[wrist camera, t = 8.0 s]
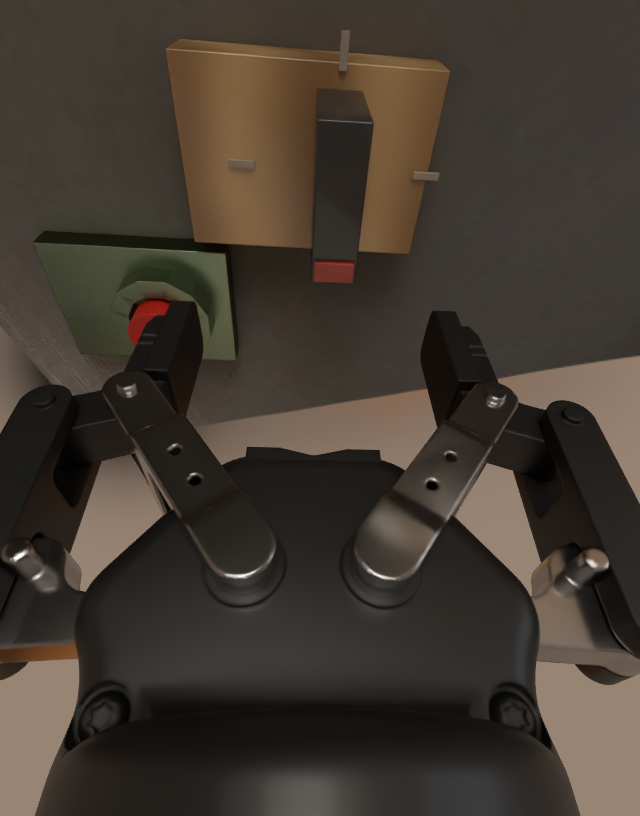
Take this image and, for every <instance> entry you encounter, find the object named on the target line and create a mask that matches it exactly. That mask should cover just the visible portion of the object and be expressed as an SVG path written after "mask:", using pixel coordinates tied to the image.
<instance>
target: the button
mask: <svg viewBox="0 0 640 816" xmlns="http://www.w3.org/2000/svg"><path fill="white" fill-rule="evenodd" d="M169 305H170V302H167V301H164V300H148V301H145V302H143V303H142V304H140V305H139V306H138V307H137V309H136V311H135V313H134V315H133V317H132V319H131V321H130V323H129V326H128V335H129V338H130V340H131V342H132V343H133V344H134V345H135V346H136V345H137V344H138V343H137V342H138V340H139V338H140V336H141V333H142V331H143V329H144V327H145V325H146V323H147V322H149V321H150V320H151V319H152V318H153V317H154V316H156V315H165V314H166V312H167V310H168V307H169Z"/></svg>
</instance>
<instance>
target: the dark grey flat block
mask: <svg viewBox="0 0 640 816" xmlns="http://www.w3.org/2000/svg"><path fill="white" fill-rule="evenodd" d="M373 129H374V122H373V119H372V116H371V113H370V110H369V108H368V105H367V102H366V99H365V96H364V93H363V91H354V90H338V89H322V88H318V89H317V100H316V125H315V151H314V177H313V202H312V228H311V282H318V283H342V284H354V283H355V275H356V267H357V259H358V250H359V242H360V234H361V226H362V218H363V210H364V202H365V194H366V185H367V177H368V169H369V161H370V153H371V145H372V137H373Z"/></svg>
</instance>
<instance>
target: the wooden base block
mask: <svg viewBox="0 0 640 816" xmlns="http://www.w3.org/2000/svg"><path fill="white" fill-rule="evenodd" d="M349 38H350V31H345V30H342V33H341V46H340V52H334V51H322V50H310V49H297V48H285V47H273V46H260V45H248V44H236V43H223V42H211V41H199V40H187V39H179V40H178V41H176V42H175V43H173V44H172V45H170V46H169V47H167V48H166V49H165V50H166V57H167V64H168V70H169V77H170V83H171V90H172V97H173V103H174V110H175V116H176V123H177V130H178V136H179V143H180V149H181V156H182V163H183V169H184V176H185V182H186V189H187V196H188V202H189V209H190V215H191V222H192V229H193V235H194V241H195V242H204V243H221V244H239V245H256V246H274V247H291V248H309V249H311V228H312V202H313V177H314V151H315V125H316V100H317V89H318V88H322V89H338V90H354V91H363V93H364V96H365V99H366V102H367V105H368V108H369V110H370V113H371V116H372V119H373V122H374V129H373V137H372V145H371V153H370V161H369V169H368V177H367V185H366V194H365V202H364V210H363V218H362V226H361V234H360V242H359V250H358V251H361V252H379V253H396V254H409V253H410V248H411V244H412V239H413V235H414V230H415V226H416V222H417V217H418V213H419V208H420V204H421V199H422V195H423V191H424V186H425V182H426V180H430V181H438V178H439V173H432V172H428V168H429V164H430V160H431V155H432V151H433V146H434V142H435V137H436V133H437V129H438V124H439V120H440V115H441V111H442V106H443V102H444V98H445V93H446V89H447V84H448V80H449V76H450V71H449V70H448V69H447V68H446V67H445V66H444V65H442V64H441V63H440V62H439V61H438V60H433V59H420V58H408V57H396V56H383V55H371V54H359V53H348V49H349Z"/></svg>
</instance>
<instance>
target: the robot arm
mask: <svg viewBox="0 0 640 816" xmlns="http://www.w3.org/2000/svg"><path fill="white" fill-rule="evenodd" d="M137 343H138V344H137V345H136V347H135V349H134V351H133V353H132V355H131V357H130V360H129V362H128V364H127V366H126V368H125V371H124V372H121V373H118V374H116V375H114V376H112V377H111V378H109V379H108V380H107V381H106V382H105V384H104V385H103V388H102V390H100V391H96V392H91V393H86V394H81V395H76V396H72V394H71V392H70V390H69V389H68V388H66V387H64V386H61V385H46V386H42V387H38V388H36V389H34V390H32V391H30V392H28V393H27V394H25V395H24V396H23V397H22V398H21V399H20V401H19V402H18V404H17V406H16V407H15V409H14V411H13V412H12V414H11V416H10V418H9V419H8V421H7V423H6V425H5V426H4V428H3V430H2V432H1V434H0V680H3V679H6V678H8V677H10V676H12V675H14V674H15V673H17V672H19V671H20V670H21V669H22V668H23V667H25V666H26V664H27V663H28V662H29V661H44V660H62V659H78V660H79V691H78V700H77V704H76V708H75V711H74V715H73V718H72V720H71V723H70V725H69V728H68V730H67V732H66V735H65V737H64V739H63V742H62V744H61V746H60V748H59V750H58V753H57V755H56V757H55V759H54V762H53V764H52V767H51V769H50V772H49V775H48V777H47V780H46V783H45V786H44V789H43V792H42V795H41V798H40V801H39V804H38V808H37V811H36V814H35V816H580V813H579V810H578V807H577V803H576V800H575V796H574V793H573V790H572V787H571V784H570V781H569V778H568V775H567V772H566V770H565V768H564V766H563V763H562V761H561V759H560V757H559V755H558V753H557V751H556V749H555V746H554V745H553V742H552V740H551V738H550V736H549V734H548V731H547V729H546V727H545V725H544V722H543V720H542V717H541V714H540V711H539V708H538V703H537V697H536V686H535V669H536V661H541V662H554V663H568V664H575V665H576V666H577V667H578V669H579V670H580V671H581V672H582V673H583V674H584V675H586V676H587V677H588V678H590V679H591V680H593V681H595V682H597V683H600V684H604V685H613V684H616V683H619V682H621V681H623V680H626V679H628V678H631V677H633V676H636V675H638V674H640V504H639V502H638V500H637V498H636V496H635V494H634V492H633V490H632V488H631V487H630V485H629V483H628V481H627V479H626V477H625V475H624V473H623V471H622V469H621V467H620V465H619V463H618V461H617V459H616V458H615V456H614V454H613V452H612V450H611V448H610V446H609V444H608V442H607V440H606V438H605V437H604V434H603V432H602V431H601V429H600V427H599V425H598V423H597V421H596V419H595V417H594V416H593V415H592V414H591V413H590V412H589V411H588V410H587V409H586V408H584V407H582V406H581V405H579V404H576V403H573V402H570V401H564V400H561V401H555V402H552V403H551V404H550V405H549V406H548V407H547V409H546V410H543V409H539V408H535V407H531V406H528V405H524V404H521V403H519V402H518V398H517V396H516V395H515V393H514V392H513V391H512V390H511V389H509V388H508V387H506V386H504V385H502V384H500V383H498V380H497V378H496V376H495V373H494V371H493V369H492V366H491V364H490V361H489V359H488V357H486V355H487V354H486V352H485V350H484V348H483V345H482V343H481V340H480V338H479V336H478V335H477V334H476V333H475V332H474V331H473V330H472V329H471V328H470V327H464V326H461V324H460V321H459V319H458V316H457V314H456V312H454V311H432V313H431V315H430V318H429V322H428V325H427V329H426V332H425V336H424V340H423V343H422V347H421V366H422V370H423V374H424V377H425V381H426V385H427V389H428V393H429V397H430V401H431V405H432V409H433V413H434V417H435V421H436V425H437V430H436V431H435V432H434V434H433V435H432V436H431V438H430V439H429V440H428V442H427V443H426V444H425V445H424V447H423V448H422V449H421V451H420V452H419V453H418V455H417V456H416V457H415V459H414V460H413V461H412V463H411V464H410V465H409V467H408V468H407V469H406V471H405V470H403V469H402V468H400V467H398V466H396V465H394V464H392V463H388V462H386V461H382V460H381V458H380V450H351V449H350V450H349V449H347V450H342V451H337V452H331V453H326V454H321V455H308V454H304V453H300V452H296V451H291V450H287V449H282V448H270V447H269V448H267V447H247V451H246V457H243V458H239V459H235V460H232V461H230V462H227V463H225V464H223V465H221V464H220V463H219V461H218V460H217V458H216V457H215V456H214V454H213V453H212V452H211V450H210V449H209V448H208V446H207V445H206V443H205V442H204V441H203V439H202V438H201V437H200V435H199V434H198V433H197V431H196V430H195V429H194V427H193V426H192V425H191V423H190V422H189V420H188V419H187V418H186V413H187V410H188V406H189V403H190V399H191V396H192V392H193V388H194V385H195V381H196V378H197V374H198V371H199V367H200V363H201V360H202V356H203V336H202V331H201V325H200V320H199V315H198V309H197V305H196V303H195V301H173V300H172V301H171V303H170V305H169V307H168V310H167V312H166V314H165V315H156V316H154V317H153V318H152V319H151V320H150V321H149V322H147V323H146V325H145V327H144V329H143V331H142V333H141V336H140V338H139V340H138V342H137ZM129 454H130V456H131V458H132V460H133V461H134V463H135V465H136V467H137V468H138V470H139V472H140V473H141V475H142V477H143V479H144V480H145V482H146V484H147V485H148V487H149V489H150V491H151V492H152V494H153V496H154V498H155V500H156V502H157V504H158V506H159V508H160V510H161V512H162V514H163V516H162V517H161V518H160V519H159V520H158V521H157V522H155V524H153V526H151V527H150V528H149V529H148V530H147V531H146V532H144V533H143V534H142V535H141V536H140V537H139V538H138V539H137V540H136V541H135V542H133V543H132V544H131V545H130V546H129V547H128V548H127V549H126V550H125V551H123V552H122V553H121V554H120V555H119V556H118V557H117V558H116V559H115V560H113V561H112V562H111V563H110V564H109V565H108V566H107V567H106V568H105V569H104V570H103V571H102V572H101V573H100V574H99V575H98V576H97V577H96V578H95V579H94V580H93V582H92V583H91V584H90V586H89V587H88V589H87V591H86V592H83V591H80V582H81V569H80V567H79V565H78V564H77V562H76V561H75V560H74V559H73V558H72V557H71V555H70V552H71V549H72V546H73V543H74V540H75V537H76V534H77V532H78V528H79V526H80V523H81V520H82V517H83V514H84V511H85V508H86V505H87V502H88V499H89V496H90V494H91V491H92V488H93V485H94V482H95V479H96V476H97V473H98V470H99V467H100V465H101V462H102V461H103V460H107V459H112V458H116V457H120V456H125V455H129ZM487 463H489V464H493V465H496V466H499V467H503V468H506V469H509V470H513V473H514V476H515V479H516V482H517V486H518V489H519V492H520V495H521V498H522V502H523V505H524V509H525V512H526V515H527V518H528V522H529V525H530V528H531V531H532V534H533V538H534V541H535V544H536V548H537V551H538V554H539V557H540V561H541V564H540V565H539V566H538V567H537V568H536V569H535V570H534V572H533V574H532V579H531V584H532V597H530V595H529V593H528V591H527V590H526V588H525V587H524V585H523V584H522V583H521V582H520V580H519V579H518V578H517V577H516V576H515V575H514V574H513V573H512V572H511V571H510V570H509V569H508V568H507V567H506V566H505V565H504V564H503V563H502V562H501V561H500V560H499V559H498V558H496V557H495V556H494V555H493V554H492V553H491V552H490V551H489V550H488V549H487V548H486V547H485V546H484V545H483V544H482V543H481V542H480V541H479V540H478V539H477V538H476V537H475V536H474V535H473V534H472V533H471V532H470V531H469V530H468V529H467V528H466V527H465V526H464V525H463V524H462V523H461V522H460V521H459V520H458V519H457V518H455V516H456V514H457V513H458V511H459V509H460V507H461V506H462V504H463V502H464V500H465V499H466V497H467V495H468V493H469V492H470V490H471V488H472V487H473V485H474V484H475V482H476V480H477V479H478V477H479V475H480V474H481V472H482V470H483V469H484V467H485V465H486V464H487Z"/></svg>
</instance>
